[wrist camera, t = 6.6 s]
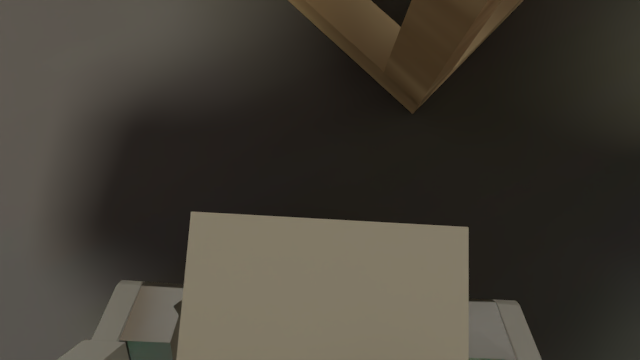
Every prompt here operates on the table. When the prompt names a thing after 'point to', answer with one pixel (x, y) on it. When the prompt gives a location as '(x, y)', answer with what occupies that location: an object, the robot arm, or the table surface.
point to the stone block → (323, 290)
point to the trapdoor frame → (408, 39)
